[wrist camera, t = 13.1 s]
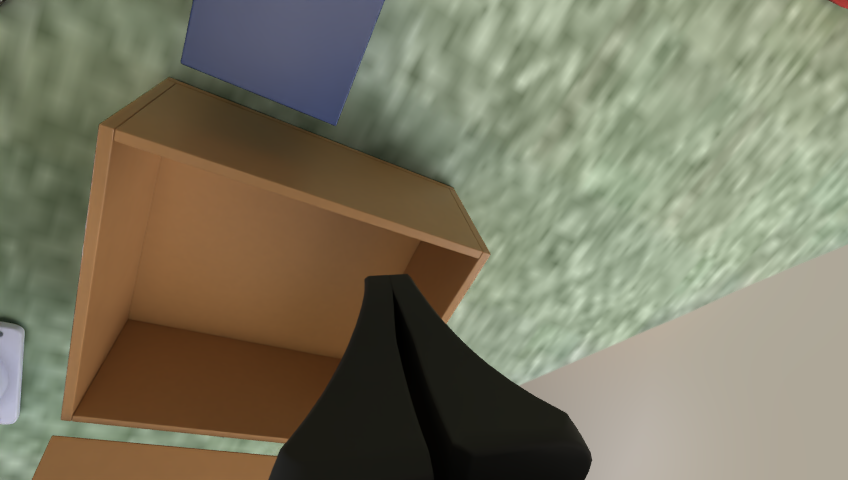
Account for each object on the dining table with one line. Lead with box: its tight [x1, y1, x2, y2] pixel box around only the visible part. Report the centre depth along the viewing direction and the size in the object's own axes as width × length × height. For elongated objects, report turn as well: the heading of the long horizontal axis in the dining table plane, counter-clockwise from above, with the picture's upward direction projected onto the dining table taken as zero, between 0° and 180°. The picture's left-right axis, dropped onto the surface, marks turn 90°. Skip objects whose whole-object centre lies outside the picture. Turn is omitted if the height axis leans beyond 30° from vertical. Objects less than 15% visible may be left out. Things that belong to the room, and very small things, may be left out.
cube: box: [181, 0, 385, 126], centre depth 15 cm, size 5×5×5 cm
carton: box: [61, 77, 490, 443], centre depth 20 cm, size 14×14×6 cm
